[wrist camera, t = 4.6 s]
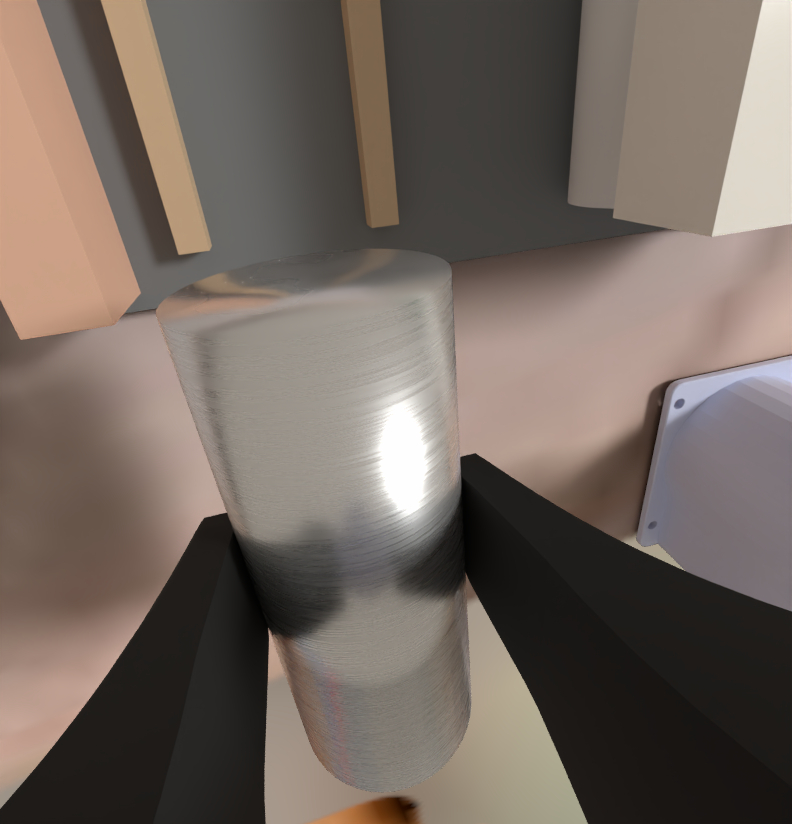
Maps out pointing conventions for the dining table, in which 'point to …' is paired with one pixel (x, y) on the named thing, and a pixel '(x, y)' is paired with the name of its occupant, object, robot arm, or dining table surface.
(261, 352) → the roller
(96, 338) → the dining table surface
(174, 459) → the dining table surface
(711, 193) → the slab
